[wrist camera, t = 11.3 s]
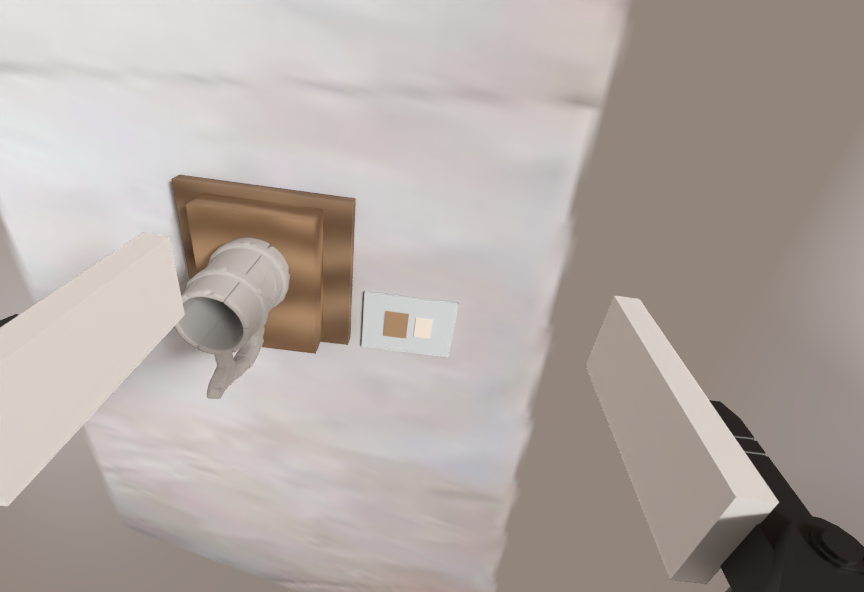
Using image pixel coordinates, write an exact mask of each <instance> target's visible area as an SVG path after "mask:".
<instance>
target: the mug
mask: <svg viewBox="0 0 864 592" xmlns="http://www.w3.org/2000/svg"><path fill="white" fill-rule="evenodd" d="M269 245H270V244H269V243H267V242H265V241H263V240H259V239H255V238H239V239H236V240H233V241H231V242H228V243H225V244H224V245H222V246H221V247H219V248H218V249H217V250H216V251H215V252H214V253H213V254H212V255H211V257H210V260H209V263H208V266H207V267H206V268H205V269H204V270H202V271H200V272H199V273H197V274H196V275H195V276H194V277H193V278H192V279H190V280H189V281H188V283H187V285H186V289H185V292H184V293H183V294H182V295H181V297H182V302H183V308H184V313H185V315H184V316H183V318H182V319H181V320H180V321H179V322H178V323H177V324H176V325H175V326H174V327H175V328H176V330H177V332H178V333H179V334H180V335H181V337H182V338H183V339H184V340H185V341H186V342H188V343H189V344H190V345H192V346H193V347H197V346H198V349H199V350H201V351H203V352H207V353H211V354H215V359H216V362H217V368H216V369H215V372H214V374H213V376H212V378H211V380H210V383H209V385H208V390H207V398H210V399H219V398H221V397H222V395H223V393H224V391H225V390H226V389H227V387H228V386H229V385H231V384H232V383H233V382H234V381H235V380H236V379H237V378H239V377H240V376H241V375H242V374H243V373H244V372H245V371H246V370H247V369H248V368H250V367H251V366H252V365H253V363H254V362H255V360H256V358H257V355H258V353H259V351H260V349H261V347H262V345H263V342H264V339H263V335H264V331H265V327H264V325H265V324H266V322H267V317H268V313H269V311H270V310H271V309H272V308H274V307H275V306H277V305H278V304H279V303H280V302H282V301H283V300H284V298H285V295H286V293H287V291H288V287H289V279H290V274H289V271H288V269H289V266H288V264H287V262H286V260H285V258H284V257H283V255H282V254H281V253H280V252H279V251H278V250H277V249H276V248H275V247H273V246H271V247H269ZM268 247H269V248H268ZM239 349H240V350H239ZM237 350H239V351H238V352H237V354H236V355H235V357H234V359H233V355H232V353H233V352H236V351H237Z"/></svg>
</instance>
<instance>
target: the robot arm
mask: <svg viewBox="0 0 864 592" xmlns="http://www.w3.org/2000/svg"><path fill="white" fill-rule="evenodd" d="M184 315H185V313H184V308H183V302H182V297H181V292H180V287H179V282H178V277H177V272H176V266H175V261H174V256H173V251H172V246H171V241H170V236H164V235H157V234H149V233H141V234H140V235H138V236H137V237H135V238H134V239H132V240H131V241H129V242H128V243H126V244H125V245H123V246H122V247H120V248H119V249H117V250H116V251H114V252H113V253H111V254H110V255H108V256H107V257H105V258H104V259H102V260H101V261H99V262H98V263H96V264H95V265H93V266H92V267H90V268H89V269H87V270H86V271H84V272H83V273H81V274H80V275H78V276H77V277H75V278H74V279H72V280H71V281H69V282H68V283H66V284H65V285H63V286H62V287H60V288H59V289H57V290H56V291H54V292H53V293H51V294H50V295H48V296H47V297H45V298H44V299H42V300H41V301H39V302H38V303H36V304H35V305H33V306H32V307H30V308H29V309H28V310H26V311H25V312H23V313H21V314H20V315H17V314H15V315H13V316H11V317H8V318H5V319H3V320H0V506H9V504H10V503H11V502H12V501H13V500H14V499H15V498H16V497H17V496H18V495H19V494H20V493H21V491H22V490H23V489H24V488H25V487H26V486H27V485H28V484H29V483H30V482H31V481H32V479H33V478H34V477H35V476H36V475H37V474H38V473H39V472H40V471H41V470H42V469H43V468H44V467H45V466H46V464H47V463H48V462H49V461H50V460H51V459H52V458H53V457H54V456H55V455H56V454H57V453H58V452H59V450H60V449H61V448H62V447H63V446H64V445H65V444H66V443H67V442H68V441H69V440H70V438H71V437H72V436H73V435H74V434H75V433H76V432H77V431H78V430H79V429H80V428H81V427H82V426H83V425H84V423H85V422H86V421H87V420H88V419H89V418H90V417H91V416H92V415H93V414H94V413H95V412H96V410H97V409H98V408H99V407H100V406H101V405H102V404H103V403H104V402H105V401H106V400H107V399H108V398H109V396H110V395H111V394H112V393H113V392H114V391H115V390H116V389H117V388H118V387H119V386H120V385H121V383H122V382H123V381H124V380H125V379H126V378H127V377H128V376H129V375H130V374H131V373H132V372H133V370H134V369H135V368H136V367H137V366H138V365H139V364H140V363H141V362H142V361H143V360H144V359H145V358H146V356H147V355H148V354H149V353H150V352H151V351H152V350H153V349H154V348H155V347H156V346H157V345H158V343H159V342H160V341H161V340H162V339H163V338H164V337H165V336H166V335H167V334H168V333H169V332H170V331H171V329H172V328H173V327H174V326H175V325H176V324H177V323H178V322H179V321H180V320H181V319H182V318H183V316H184ZM586 368H587V371H588V373H589V376H590V378H591V380H592V383H593V386H594V388H595V391H596V394H597V396H598V398H599V401H600V404H601V406H602V409H603V411H604V414H605V416H606V419H607V421H608V424H609V426H610V429H611V431H612V434H613V436H614V439H615V442H616V444H617V447H618V449H619V452H620V454H621V457H622V459H623V462H624V464H625V467H626V469H627V472H628V475H629V477H630V480H631V482H632V484H633V487H634V490H635V492H636V495H637V497H638V500H639V502H640V505H641V508H642V510H643V513H644V515H645V518H646V520H647V523H648V525H649V528H650V530H651V533H652V535H653V538H654V540H655V543H656V546H657V548H658V550H659V553H660V556H661V558H662V561H663V563H664V566H665V568H666V571H667V573H668V576H669V578H670V580H675V581H685V582H693V583H702V584H707V583H708V582H709V581H710V580H711V578H712V577H713V576H714V575H715V574H716V573H717V572H718V571H719V569H720V568H721V569H722V571H723V573H724V575H725V577H726V579H727V581H728V583H729V585H730V587H729V588H728V590H727V591H726V592H864V547H863V546H862V545H861V544H860V543H859V542H858V541H857V540H856V539H855V538H854V537H853V536H851V535H850V534H848V533H847V532H845V531H844V530H842V529H841V528H840V527H838V526H836V525H834V524H832V523H830V522H828V521H826V520H824V519H821V518H818V517H813V516H812V515H811V514H810V513H809V511H808V510H807V509H806V507H805V506H804V504H803V503H802V502H801V501H800V499H799V498H798V496H797V495H796V494H795V492H794V491H793V490H792V488H791V487H790V486H789V484H788V483H787V481H786V480H785V479H784V477H783V476H782V475H781V473H780V472H779V471H778V469H777V468H776V466H775V465H774V464H773V462H772V461H771V460H770V458H769V457H767V456H765V451H764V450H763V449H762V448H761V446H760V445H759V443H758V442H757V441H754V437H753V435H752V434H751V432H750V431H749V430H748V428H747V427H746V426H745V424H744V423H743V422H742V420H741V419H740V418H739V417H738V416H737V415H735V414H734V413H733V412H732V411H731V410H730V409H728V408H727V407H726V406H725V405H724V404H723V403H721V402H719V401H711V400H708V398H707V397H706V395H705V394H704V393H703V391H702V389H701V388H700V387H699V385H698V384H697V382H696V381H695V379H694V378H693V376H692V375H691V373H690V372H689V371H688V369H687V368H686V366H685V365H684V363H683V362H682V360H681V359H680V358H679V356H678V355H677V353H676V352H675V350H674V349H673V348H672V346H671V344H670V343H669V341H668V340H667V339H666V337H665V336H664V334H663V333H662V331H661V330H660V328H659V327H658V326H657V324H656V323H655V321H654V320H653V318H652V317H651V316H650V314H649V312H648V311H647V310H646V308H645V307H644V305H643V304H642V302H641V301H640V299H635V298H628V297H620V296H614V298H613V300H612V303H611V305H610V308H609V310H608V312H607V315H606V318H605V320H604V322H603V325H602V327H601V330H600V332H599V335H598V337H597V340H596V342H595V344H594V347H593V349H592V352H591V354H590V357H589V359H588V362H587V364H586Z"/></svg>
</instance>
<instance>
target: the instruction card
mask: <svg viewBox="0 0 864 592" xmlns="http://www.w3.org/2000/svg"><path fill="white" fill-rule="evenodd" d="M458 305H459V303H454V302H446V301H439V300H431V299H423V298H415V297H407V296H400V295H392V294H384V293H376V292H368V291H365V292H364V310H363V329H362V347H368V348H376V349H384V350H392V351H400V352H408V353H416V354H424V355H432V356H441V357H449V353H450V347H451V342H452V337H453V331H454V326H455V321H456V315H457V310H458Z"/></svg>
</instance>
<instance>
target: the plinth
mask: <svg viewBox="0 0 864 592" xmlns="http://www.w3.org/2000/svg"><path fill="white" fill-rule="evenodd" d="M172 184H173V190H174V195H175V201H176V206H177V212H178V217H179V223H180V228H181V234H182V239H183V245H184V250H185V256H186V261H187V267H188V272H189V278H190V279H192V278H193V277H194V276H195V275H196V274H197V273H199V272H200V271H202V270H204V269H205V268H206V267H207V266H208V263H209V260H210V257H211V255H212V254H213V253H214V252H215V251H216V250H217V249H218V248H219V247H221V246H222V245H224V244H225V243H228V242H231V241H233V240H236V239H239V238H255V239H259V240H263V241H265V242H267V243H269V244H270V245H269V247H271V246H273V247H275V248H276V249H277V250H278V251H279V252H280V253H281V254H282V255H283V257H284V258H285V260H286V262H287V264H288V266H289V269H288V271H289V274H290V279H289V287H288V291H287V293H286V295H285V298H284V300H283V301H282V302H280V303H279V304H278V305H277V306H275V307H274V308H272V309H271V310H270V311H269V313H268V317H267V322H266V324H265V325H264V327H265V331H264V335H263V339H264V342H263V345H262V347H267V348H275V349H283V350H291V351H299V352H307V353H315V354H316V351H317V349H318V346H319V344H320V342H329V343H337V344H345V345H348V343H349V340H350V331H351V304H352V278H353V252H354V225H355V198H347V197H340V196H333V195H325V194H318V193H310V192H303V191H296V190H288V189H281V188H273V187H266V186H259V185H251V184H244V183H236V182H229V181H221V180H214V179H207V178H199V177H192V176H184V175H178V176H176V177H175V178H173V179H172ZM269 247H268V248H269Z"/></svg>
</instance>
